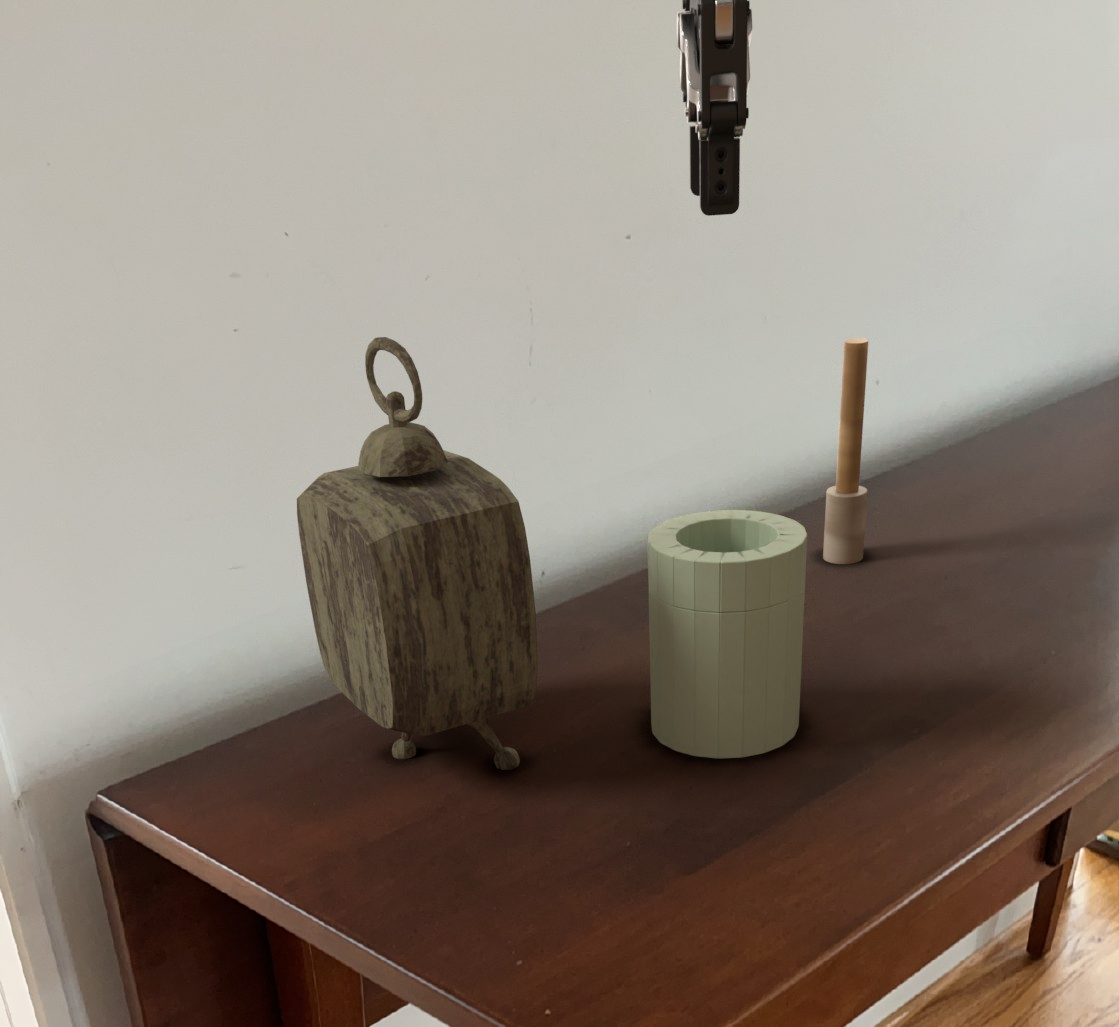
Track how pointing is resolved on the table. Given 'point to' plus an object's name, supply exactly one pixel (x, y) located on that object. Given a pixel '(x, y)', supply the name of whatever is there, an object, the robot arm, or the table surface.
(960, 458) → the table surface
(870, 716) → the table surface
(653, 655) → the cylindrical container
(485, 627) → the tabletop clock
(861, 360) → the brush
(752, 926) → the table surface
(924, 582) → the table surface
